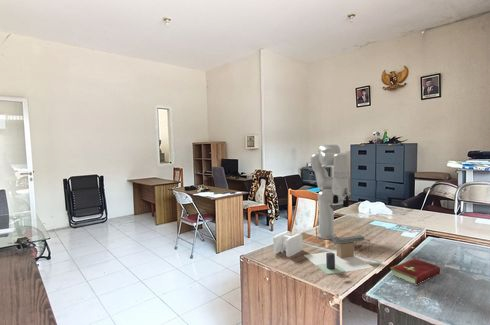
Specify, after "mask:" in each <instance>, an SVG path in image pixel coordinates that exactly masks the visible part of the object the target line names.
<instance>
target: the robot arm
mask: <svg viewBox="0 0 490 325" xmlns="http://www.w3.org/2000/svg"><path fill="white" fill-rule="evenodd" d="M348 158H349V156H348V154H346V153H342V152H341V148H340V146H339V145H338V144H322V145H320V146H319V147H318V149H317V153H314V154H312V155H310V166H311V168H312V170H313V172H314V175H315V180H316V185H317V188H318V190H320V191H319V192H318V193H317V202H318V216H319V217H318V220H319V222H318V224H319V226H318V228H317V230H318V232H317V233H316V237H317V238H319V239H323V240H332V239H335V238H337V234H336V233H335V232H334V231H335V230H334V229H335V228H334V227H335V226H334V223H335V222H334V221H335V218H334V217H335V215H334V209H333V208H332V207H331V206H332V205H334V206H335V205H336V206H337V205H339V206H340V205H342V207H343V208H349V205H350V203H349V201H350V199H351V195H352V193H351V192H350V191H349V188H350V187H349V179H348V175H349V174H348V170H349V169H348V163H349V162H348V160H349V159H348ZM323 166H325V167H333V176H329V173H328V170H327V169H326V168H324V167H323Z"/></svg>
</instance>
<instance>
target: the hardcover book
mask: <svg viewBox="0 0 490 325" xmlns="http://www.w3.org/2000/svg"><path fill="white" fill-rule="evenodd" d="M390 270H391V272H390V273H391V274H394V275H395V276H397V277H399V278H398V279H400V278H402V279H405V280H407V281H410V282H412V283H415V284H418V283H420V282H422V281H424V280H426V279H428V278H430V279H432V278H433V276H434V277H436V276H438V275H440V274H441V267H440V266H439V265H437V264H434V263H431V262H429V261H425V260H422V259H419V258H417V257H413V258H410V259H408V260H406V261H404V262H401V263H399V264H395V265H394V266H391V267H390ZM439 273H440V274H439ZM437 274H438V275H437ZM435 275H436V276H435ZM395 276H394V277H395ZM397 277H396V278H397ZM431 277H432V278H431ZM402 279H401V280H402ZM405 280H404V281H405ZM428 280H429V279H428ZM407 281H406V282H407ZM426 281H427V280H426ZM424 282H425V281H424ZM412 283H411V284H412ZM422 283H423V282H422ZM420 284H421V283H420ZM418 285H419V284H418Z"/></svg>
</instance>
